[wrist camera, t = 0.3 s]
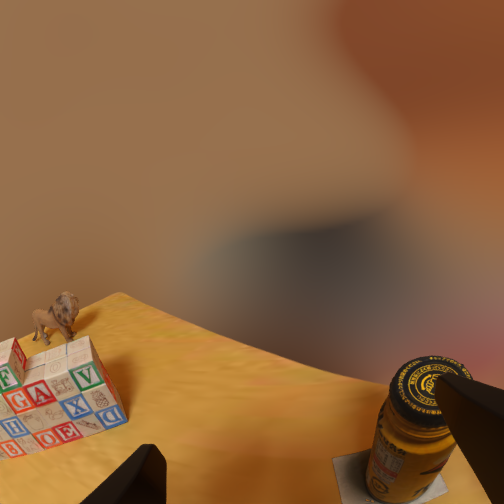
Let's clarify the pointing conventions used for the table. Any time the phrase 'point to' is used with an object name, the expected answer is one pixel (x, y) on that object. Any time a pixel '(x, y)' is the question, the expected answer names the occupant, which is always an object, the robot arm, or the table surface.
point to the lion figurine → (57, 317)
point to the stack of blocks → (54, 397)
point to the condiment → (403, 442)
